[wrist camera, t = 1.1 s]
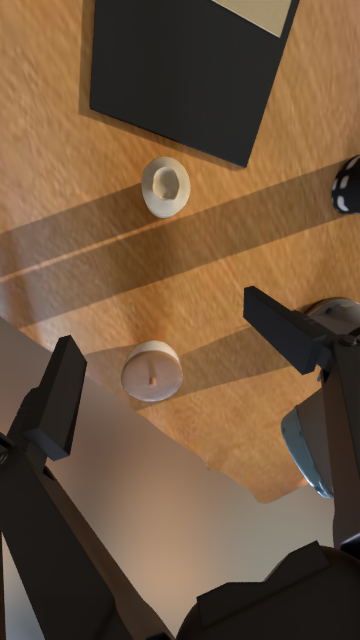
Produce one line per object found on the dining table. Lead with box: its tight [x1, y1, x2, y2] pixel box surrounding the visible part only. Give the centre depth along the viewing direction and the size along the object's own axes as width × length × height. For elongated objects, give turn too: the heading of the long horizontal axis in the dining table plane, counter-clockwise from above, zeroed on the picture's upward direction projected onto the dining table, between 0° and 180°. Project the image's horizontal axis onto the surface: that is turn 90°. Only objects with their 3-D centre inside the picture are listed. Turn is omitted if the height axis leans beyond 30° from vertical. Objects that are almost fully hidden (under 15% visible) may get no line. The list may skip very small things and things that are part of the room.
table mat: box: [90, 0, 300, 168], centre depth 22 cm, size 22×24×1 cm
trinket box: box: [121, 340, 183, 401], centre depth 37 cm, size 11×11×9 cm
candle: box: [141, 157, 190, 218], centre depth 25 cm, size 6×6×10 cm
